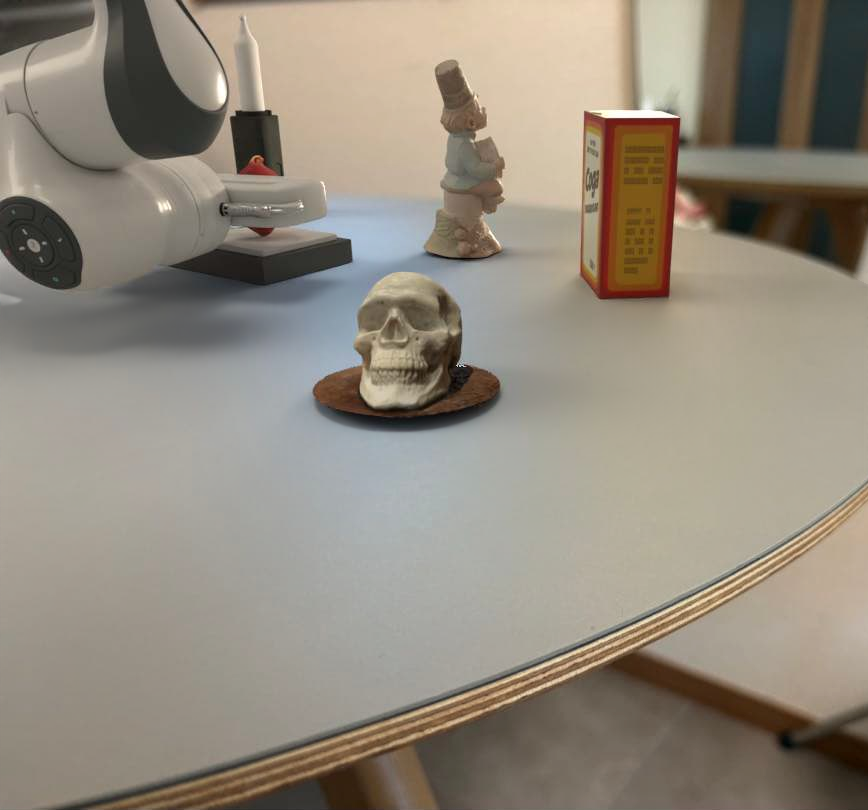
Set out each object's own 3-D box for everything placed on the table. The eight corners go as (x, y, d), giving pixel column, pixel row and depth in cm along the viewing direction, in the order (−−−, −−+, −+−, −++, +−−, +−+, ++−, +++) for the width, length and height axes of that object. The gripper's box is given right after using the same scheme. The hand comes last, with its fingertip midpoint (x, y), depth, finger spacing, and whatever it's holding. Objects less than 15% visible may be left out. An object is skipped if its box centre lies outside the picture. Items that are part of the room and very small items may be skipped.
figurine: (439, 264, 89) (431, 59, 82) (416, 248, 97) (407, 58, 89) (517, 257, 93) (516, 59, 85) (489, 242, 100) (486, 58, 92)
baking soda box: (580, 273, 86) (584, 106, 80) (642, 272, 87) (651, 106, 81) (599, 298, 77) (605, 113, 71) (668, 296, 78) (680, 112, 72)
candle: (257, 209, 120) (234, 14, 110) (291, 210, 119) (270, 14, 109) (238, 215, 115) (212, 12, 106) (273, 217, 114) (250, 12, 105)
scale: (165, 265, 88) (160, 236, 87) (256, 245, 98) (253, 219, 97) (264, 285, 81) (261, 254, 80) (353, 261, 90) (350, 233, 89)
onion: (270, 243, 84) (260, 160, 81) (222, 239, 86) (211, 157, 83) (304, 233, 89) (296, 154, 86) (259, 229, 91) (249, 151, 88)
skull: (496, 419, 49) (370, 286, 47) (377, 512, 53) (255, 394, 50) (529, 346, 60) (427, 235, 57) (428, 428, 64) (329, 328, 61)
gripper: (278, 175, 71) (353, 156, 83) (72, 166, 75) (172, 150, 88) (286, 250, 73) (358, 221, 85) (87, 237, 78) (182, 211, 90)
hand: (263, 185), depth 87 cm, fingers closed on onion, 6 cm apart
